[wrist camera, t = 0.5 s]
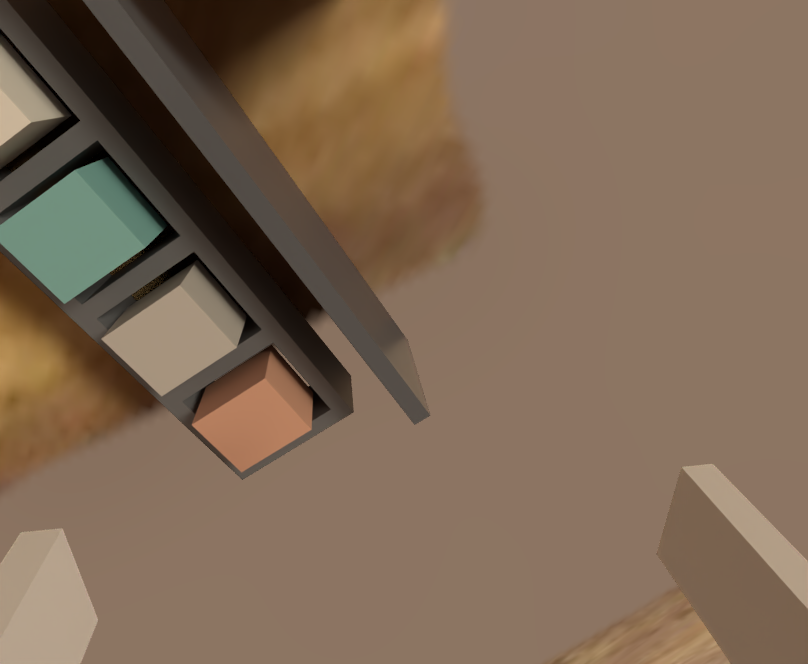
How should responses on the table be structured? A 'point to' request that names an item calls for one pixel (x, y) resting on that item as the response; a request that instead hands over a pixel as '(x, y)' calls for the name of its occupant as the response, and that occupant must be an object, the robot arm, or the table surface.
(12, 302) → the table surface
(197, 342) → the grey block
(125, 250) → the key
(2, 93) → the key
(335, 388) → the key frame
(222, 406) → the key
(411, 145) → the table surface
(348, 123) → the table surface
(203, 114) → the screen
